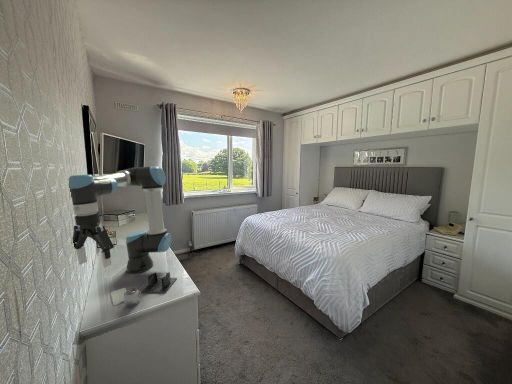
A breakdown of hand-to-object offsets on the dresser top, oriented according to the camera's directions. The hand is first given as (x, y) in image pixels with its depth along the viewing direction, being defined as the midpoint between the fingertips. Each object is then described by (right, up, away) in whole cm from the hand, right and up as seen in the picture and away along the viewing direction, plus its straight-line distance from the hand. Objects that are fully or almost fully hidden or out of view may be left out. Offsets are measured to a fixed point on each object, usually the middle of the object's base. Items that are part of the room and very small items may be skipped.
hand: (95, 264), depth 87 cm
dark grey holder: (+14, -21, +29) cm, 38 cm away
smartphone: (-3, -24, +21) cm, 32 cm away
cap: (+7, -24, +14) cm, 29 cm away
